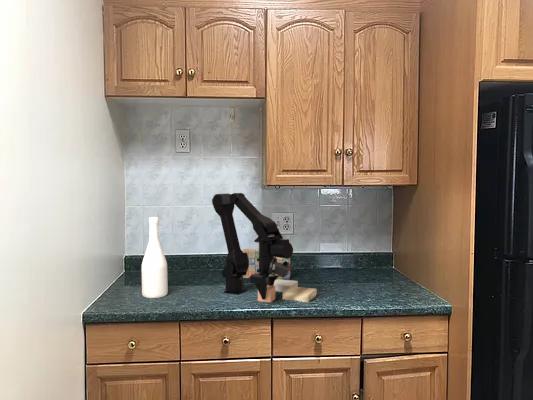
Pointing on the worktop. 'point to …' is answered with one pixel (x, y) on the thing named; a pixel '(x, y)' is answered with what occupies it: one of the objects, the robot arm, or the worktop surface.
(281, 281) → the white plastic slab
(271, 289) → the terracotta cube
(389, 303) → the worktop surface
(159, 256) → the wine bottle
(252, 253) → the stack of blocks
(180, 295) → the worktop surface
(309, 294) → the birch slab
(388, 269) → the worktop surface
